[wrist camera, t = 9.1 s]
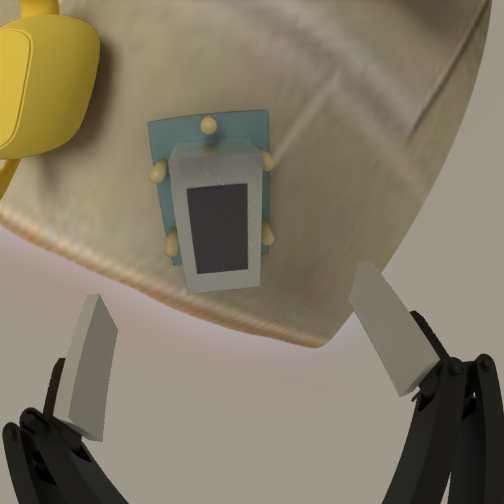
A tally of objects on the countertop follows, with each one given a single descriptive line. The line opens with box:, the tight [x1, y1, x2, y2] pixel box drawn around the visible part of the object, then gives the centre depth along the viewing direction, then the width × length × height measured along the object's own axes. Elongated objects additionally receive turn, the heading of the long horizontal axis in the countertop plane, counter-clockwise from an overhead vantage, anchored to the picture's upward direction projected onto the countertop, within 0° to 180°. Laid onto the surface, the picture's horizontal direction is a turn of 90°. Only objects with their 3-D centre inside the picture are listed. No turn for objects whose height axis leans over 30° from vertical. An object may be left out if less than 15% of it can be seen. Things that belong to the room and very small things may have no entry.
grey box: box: [168, 136, 263, 294], centre depth 22 cm, size 11×6×7 cm, turn 0°
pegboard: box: [148, 110, 275, 265], centre depth 24 cm, size 15×10×5 cm
